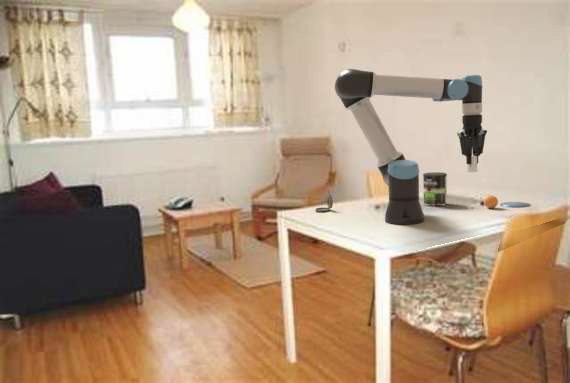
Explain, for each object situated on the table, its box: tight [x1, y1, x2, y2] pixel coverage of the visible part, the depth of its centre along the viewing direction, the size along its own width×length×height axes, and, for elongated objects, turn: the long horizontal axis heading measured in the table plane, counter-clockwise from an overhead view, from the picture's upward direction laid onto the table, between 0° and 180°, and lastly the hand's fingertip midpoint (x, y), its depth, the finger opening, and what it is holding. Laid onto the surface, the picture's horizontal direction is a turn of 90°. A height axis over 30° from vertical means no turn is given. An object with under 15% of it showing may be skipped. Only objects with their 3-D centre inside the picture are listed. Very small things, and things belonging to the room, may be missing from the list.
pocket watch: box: [315, 189, 334, 213], centre depth 224 cm, size 8×8×10 cm
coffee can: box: [422, 171, 448, 206], centre depth 223 cm, size 10×10×14 cm
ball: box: [483, 194, 499, 209], centre depth 207 cm, size 6×6×6 cm
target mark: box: [499, 201, 532, 208], centre depth 211 cm, size 12×12×1 cm
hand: (472, 171), depth 202 cm, fingers closed
